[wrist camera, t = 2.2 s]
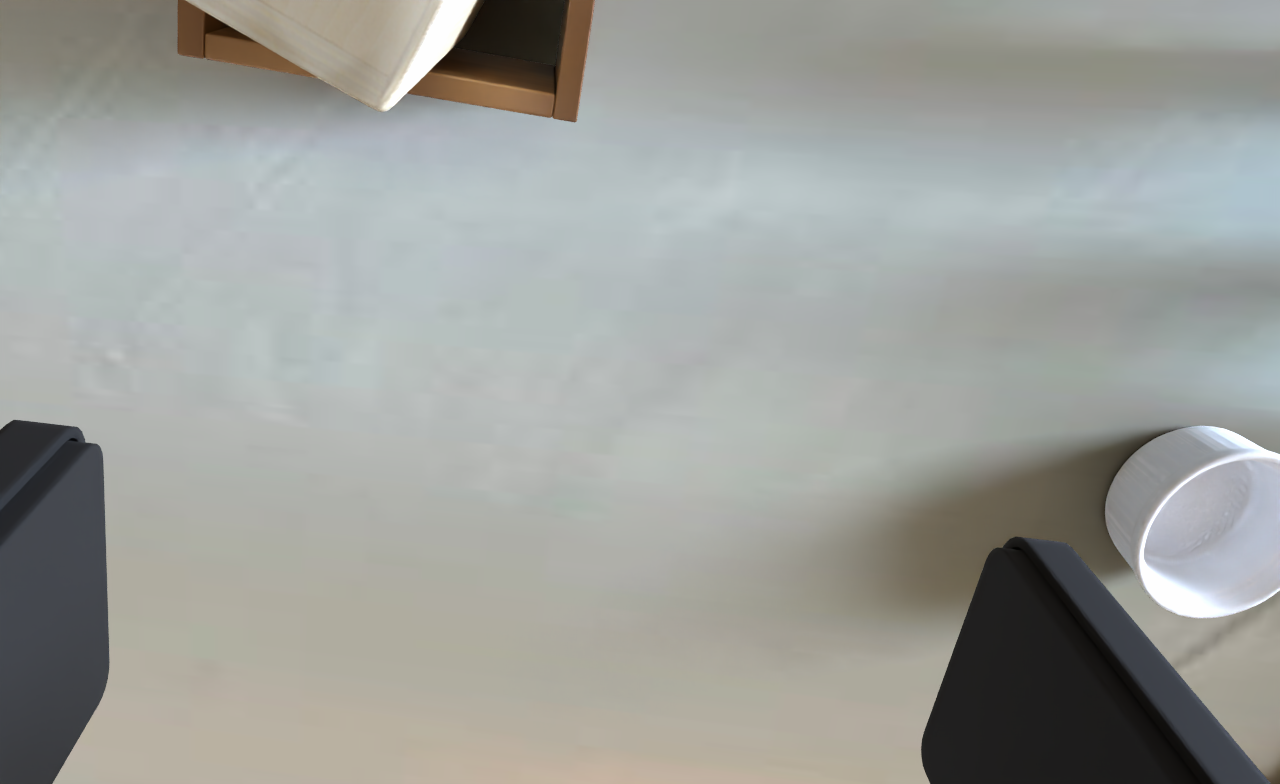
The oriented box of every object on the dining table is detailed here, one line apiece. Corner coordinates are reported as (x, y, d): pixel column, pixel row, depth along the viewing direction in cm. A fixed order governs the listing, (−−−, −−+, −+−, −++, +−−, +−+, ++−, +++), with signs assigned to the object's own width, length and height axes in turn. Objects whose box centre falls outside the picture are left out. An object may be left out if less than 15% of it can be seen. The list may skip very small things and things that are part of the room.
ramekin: (1148, 392, 49) (1200, 432, 45) (1300, 439, 51) (1364, 482, 47) (1060, 545, 52) (1102, 595, 48) (1207, 585, 54) (1258, 637, 50)
